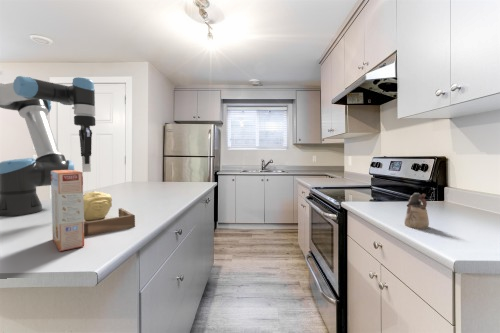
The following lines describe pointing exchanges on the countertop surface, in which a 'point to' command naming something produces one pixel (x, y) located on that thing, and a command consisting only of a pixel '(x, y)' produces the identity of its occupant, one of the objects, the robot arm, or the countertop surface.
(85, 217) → the sculpture
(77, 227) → the cracker box
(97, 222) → the frame
